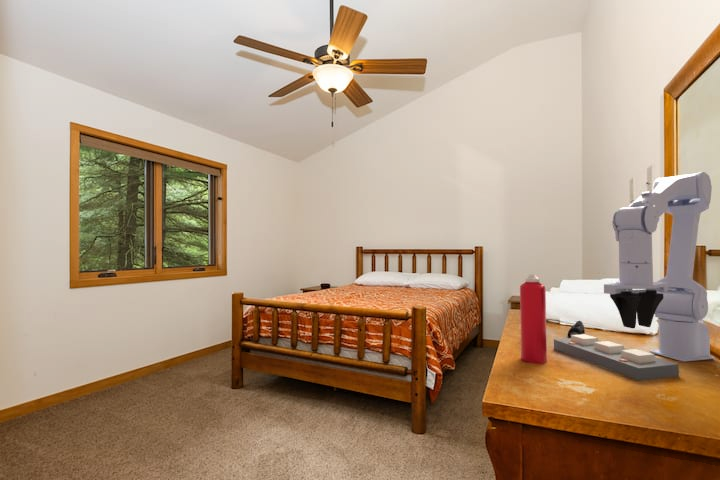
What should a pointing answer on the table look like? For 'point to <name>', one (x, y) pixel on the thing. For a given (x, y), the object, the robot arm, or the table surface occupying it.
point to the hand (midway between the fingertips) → (636, 326)
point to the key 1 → (583, 339)
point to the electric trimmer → (576, 329)
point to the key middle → (608, 347)
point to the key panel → (619, 361)
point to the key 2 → (637, 356)
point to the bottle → (533, 321)
